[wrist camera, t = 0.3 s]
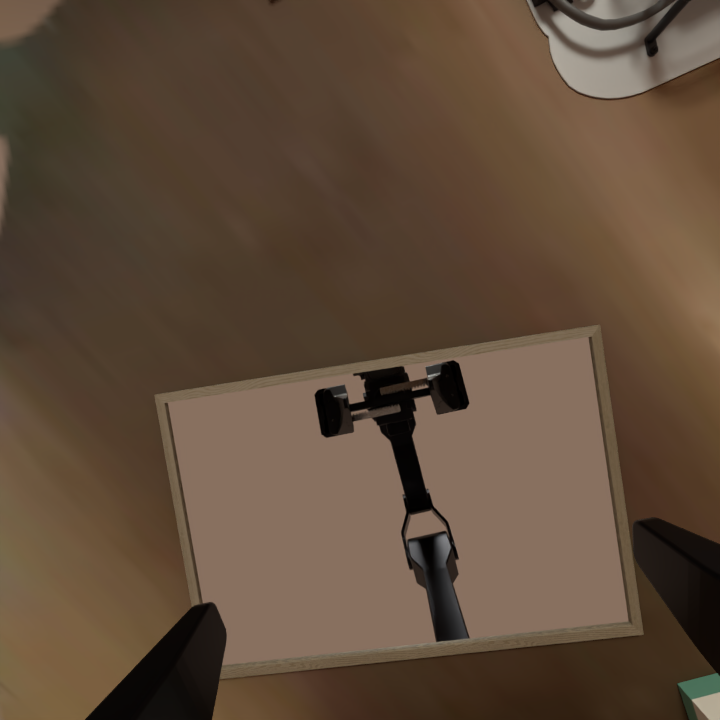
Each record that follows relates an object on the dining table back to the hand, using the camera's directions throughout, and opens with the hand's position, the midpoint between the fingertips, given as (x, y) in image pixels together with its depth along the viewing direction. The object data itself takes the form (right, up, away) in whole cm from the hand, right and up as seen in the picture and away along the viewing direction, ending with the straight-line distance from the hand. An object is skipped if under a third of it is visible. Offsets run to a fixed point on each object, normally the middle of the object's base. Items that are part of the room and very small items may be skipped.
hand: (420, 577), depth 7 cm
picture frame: (+1, -5, +16) cm, 17 cm away
